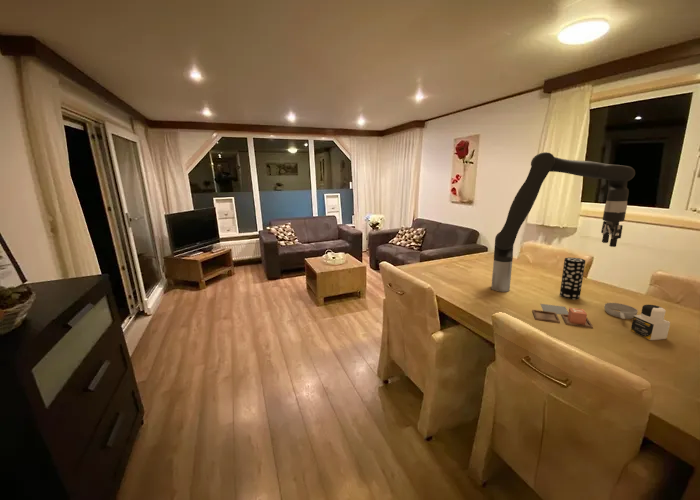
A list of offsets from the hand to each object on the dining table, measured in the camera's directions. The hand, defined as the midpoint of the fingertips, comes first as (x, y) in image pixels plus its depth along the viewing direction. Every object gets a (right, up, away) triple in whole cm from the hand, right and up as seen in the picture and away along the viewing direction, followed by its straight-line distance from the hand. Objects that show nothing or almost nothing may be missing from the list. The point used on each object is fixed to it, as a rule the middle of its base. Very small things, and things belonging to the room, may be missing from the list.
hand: (608, 244), depth 135 cm
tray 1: (-36, -33, -8) cm, 50 cm away
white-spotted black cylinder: (-9, -27, +12) cm, 31 cm away
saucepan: (-5, -33, -11) cm, 35 cm away
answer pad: (-27, -31, -2) cm, 41 cm away
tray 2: (-26, -34, -13) cm, 45 cm away
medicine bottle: (-8, -36, -25) cm, 45 cm away
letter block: (-26, -33, -13) cm, 45 cm away
